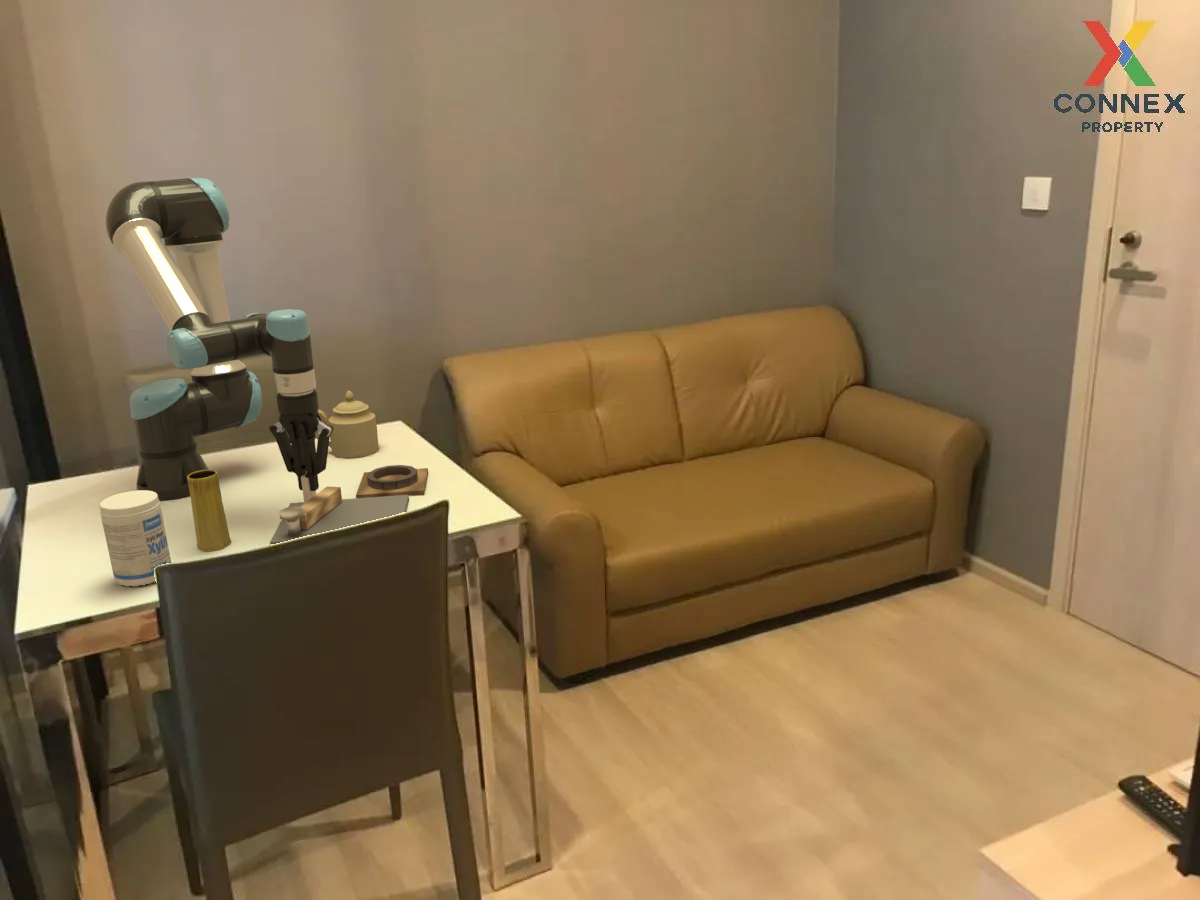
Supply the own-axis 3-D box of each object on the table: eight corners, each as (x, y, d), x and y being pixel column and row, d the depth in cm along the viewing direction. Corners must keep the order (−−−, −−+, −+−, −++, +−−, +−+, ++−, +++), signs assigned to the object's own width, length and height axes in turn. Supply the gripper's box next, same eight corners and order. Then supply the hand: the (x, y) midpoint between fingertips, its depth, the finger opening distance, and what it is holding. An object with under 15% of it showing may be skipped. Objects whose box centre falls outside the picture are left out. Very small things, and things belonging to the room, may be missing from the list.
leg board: (270, 547, 188) (269, 542, 187) (291, 507, 206) (290, 503, 206) (400, 537, 190) (399, 532, 189) (408, 499, 208) (408, 494, 208)
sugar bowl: (326, 465, 231) (318, 402, 226) (309, 454, 239) (301, 393, 235) (386, 451, 239) (380, 390, 234) (368, 440, 247) (361, 381, 243)
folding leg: (299, 538, 188) (296, 515, 186) (278, 537, 189) (274, 514, 187) (345, 500, 206) (342, 479, 204) (325, 499, 207) (322, 478, 205)
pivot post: (287, 537, 189) (284, 519, 188) (289, 532, 191) (286, 514, 190) (300, 536, 189) (297, 518, 188) (302, 531, 192) (299, 513, 190)
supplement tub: (168, 584, 174) (152, 505, 169) (109, 592, 172) (92, 512, 167) (177, 561, 183) (162, 486, 178) (121, 568, 181) (105, 492, 176)
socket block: (356, 499, 209) (354, 486, 209) (364, 476, 223) (363, 464, 222) (424, 494, 211) (422, 482, 210) (428, 472, 224) (427, 460, 223)
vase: (237, 538, 192) (225, 468, 187) (222, 552, 186) (210, 479, 182) (206, 538, 193) (194, 468, 188) (191, 551, 187) (178, 480, 182)
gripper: (255, 395, 191) (272, 509, 199) (316, 398, 188) (330, 514, 196) (277, 384, 198) (292, 496, 206) (336, 387, 195) (349, 500, 202)
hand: (311, 505), depth 201 cm, fingers closed
